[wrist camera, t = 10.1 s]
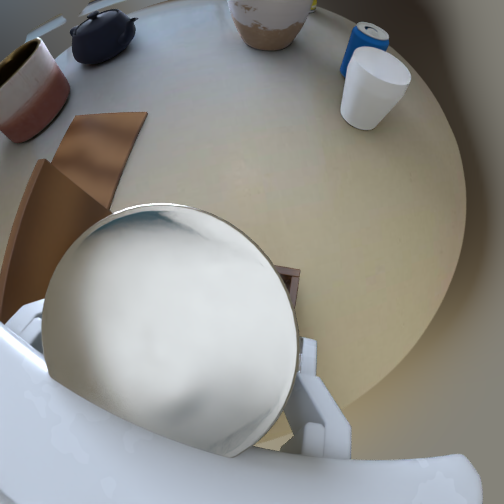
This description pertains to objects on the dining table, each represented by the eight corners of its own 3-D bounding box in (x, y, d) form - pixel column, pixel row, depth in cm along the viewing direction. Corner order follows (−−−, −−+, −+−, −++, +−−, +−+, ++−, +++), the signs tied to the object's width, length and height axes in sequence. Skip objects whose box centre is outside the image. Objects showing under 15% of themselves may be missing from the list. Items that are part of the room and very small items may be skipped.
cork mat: (99, 241, 34) (97, 240, 33) (29, 226, 34) (26, 225, 34) (147, 114, 39) (146, 111, 39) (76, 117, 40) (75, 115, 39)
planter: (34, 91, 43) (6, 52, 28) (84, 76, 43) (58, 27, 27) (1, 149, 39) (-37, 114, 23) (48, 141, 38) (5, 91, 23)
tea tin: (254, 384, 15) (273, 490, 4) (157, 365, 15) (36, 418, 4) (269, 287, 16) (316, 223, 6) (173, 271, 16) (70, 192, 6)
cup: (326, 95, 40) (343, 42, 29) (372, 98, 41) (395, 51, 29) (342, 136, 38) (366, 81, 27) (390, 137, 39) (422, 90, 27)
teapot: (60, 69, 44) (41, 37, 33) (100, 33, 48) (87, 2, 36) (124, 75, 42) (105, 30, 30) (169, 34, 46) (160, -7, 34)
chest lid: (45, 158, 12) (38, 158, 12) (-2, 396, 8) (-9, 390, 8) (152, 242, 27) (145, 241, 28) (127, 371, 24) (121, 369, 24)
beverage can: (364, 69, 43) (382, 25, 31) (375, 90, 42) (397, 44, 30) (335, 65, 43) (349, 18, 31) (344, 86, 41) (362, 36, 30)
